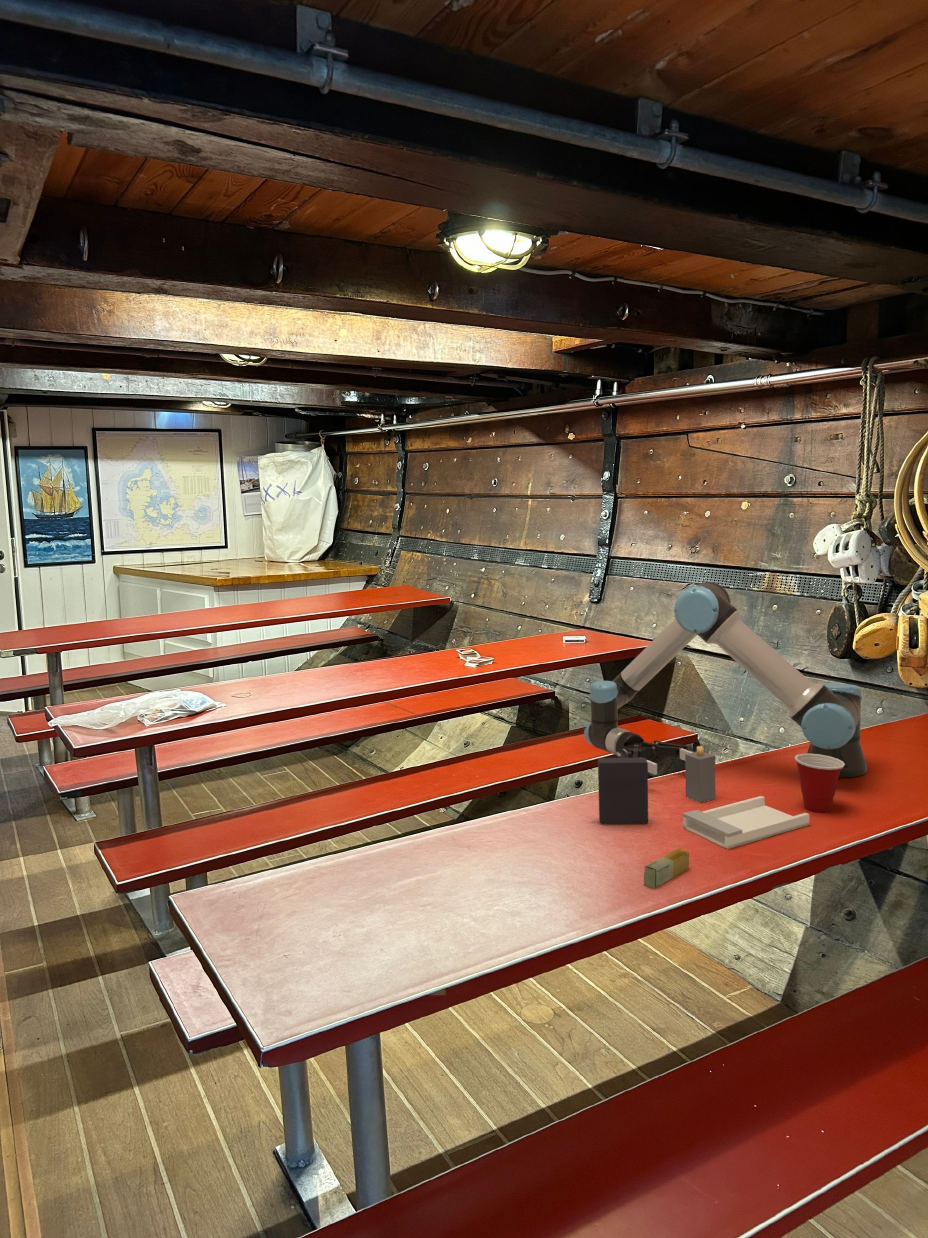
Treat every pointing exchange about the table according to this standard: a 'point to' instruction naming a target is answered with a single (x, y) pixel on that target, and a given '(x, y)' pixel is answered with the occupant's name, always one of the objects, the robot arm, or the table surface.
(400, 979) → the table surface
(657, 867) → the medication box
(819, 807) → the plastic cup
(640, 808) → the calculator
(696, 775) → the grey bottle with cork
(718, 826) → the tray
